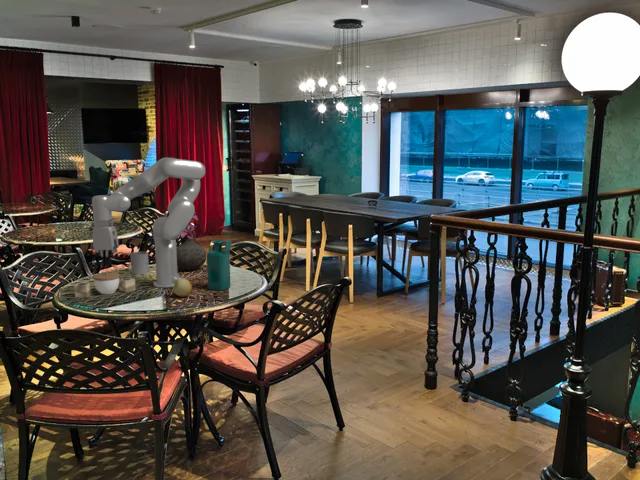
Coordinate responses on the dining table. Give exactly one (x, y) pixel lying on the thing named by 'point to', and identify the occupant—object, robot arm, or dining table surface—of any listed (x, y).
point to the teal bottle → (219, 266)
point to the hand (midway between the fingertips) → (107, 265)
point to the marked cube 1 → (83, 290)
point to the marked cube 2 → (127, 284)
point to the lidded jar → (106, 282)
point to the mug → (139, 263)
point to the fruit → (182, 287)
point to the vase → (190, 250)
